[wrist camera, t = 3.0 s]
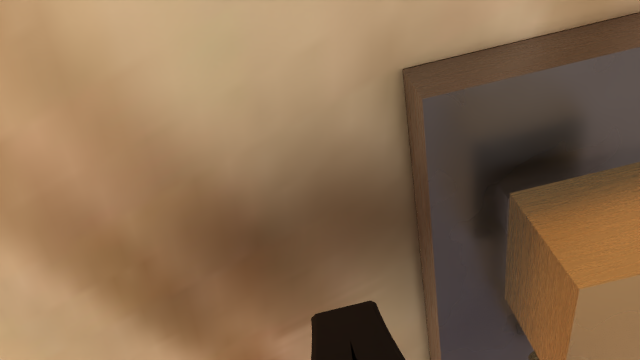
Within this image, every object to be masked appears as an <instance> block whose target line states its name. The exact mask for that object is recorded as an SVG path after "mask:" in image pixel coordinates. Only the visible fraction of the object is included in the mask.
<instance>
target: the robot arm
mask: <svg viewBox="0 0 640 360" xmlns="http://www.w3.org/2000/svg"><path fill="white" fill-rule="evenodd" d="M311 321H312V354H311V360H405V358H404V357H403V355H402V353H401V352H400V350H399V348H398V347H397V345H396V343H395V341H394V340H393V338H392V336H391V334H390V332H389V331H388V329H387V327H386V325H385V323H384V321H383V319H382V316H381V314H380V312H379V310H378V307H377V304H376V303H375V302H372V301H367V302H363V303H359V304H355V305H351V306H346V307H342V308H338V309H334V310H330V311H326V312H322V313H318V314H315V315H314V316H313V317H312V318H311Z"/></svg>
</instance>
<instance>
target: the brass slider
mask: <svg viewBox="0 0 640 360" xmlns="http://www.w3.org/2000/svg"><path fill="white" fill-rule="evenodd" d="M504 297H505V299H506V301H507V303H508V305H509V306H510V308H511V310H512V312H513V314H514V315H515V317H516V319H517V321H518V322H519V324H520V326H521V328H522V330H523V331H524V333H525V335H526V337H527V338H528V340H529V342H530V344H531V346H532V347H533V349H534V351H533V352H532V353H531V354H530V355H529V356H528V359H529V360H640V162H637V163H633V164H629V165H625V166H621V167H616V168H612V169H608V170H604V171H600V172H596V173H592V174H587V175H583V176H579V177H575V178H571V179H567V180H563V181H558V182H554V183H550V184H546V185H542V186H538V187H533V188H529V189H525V190H521V191H517V192H513V193H510V200H509V219H508V238H507V257H506V276H505V295H504Z"/></svg>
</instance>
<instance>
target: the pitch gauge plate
mask: <svg viewBox="0 0 640 360" xmlns="http://www.w3.org/2000/svg"><path fill="white" fill-rule="evenodd" d="M403 76H404V87H405V97H406V108H407V118H408V129H409V140H410V150H411V161H412V171H413V182H414V192H415V203H416V213H417V224H418V234H419V245H420V255H421V266H422V276H423V287H424V297H425V308H426V318H427V329H428V340H429V350H430V360H529V359H528V356H529V355H530V354H531V353H532V352H533V351H534V349H533V347H532V346H531V344H530V342H529V340H528V338H527V337H526V335H525V333H524V331H523V330H522V328H521V326H520V324H519V322H518V321H517V319H516V317H515V315H514V314H513V312H512V310H511V308H510V306H509V305H508V303H507V301H506V299H505V297H504V295H505V276H506V257H507V238H508V219H509V200H510V193H513V192H517V191H521V190H525V189H529V188H533V187H538V186H542V185H546V184H550V183H554V182H558V181H563V180H567V179H571V178H575V177H579V176H583V175H587V174H592V173H596V172H600V171H604V170H608V169H612V168H616V167H621V166H625V165H629V164H633V163H637V162H640V13H637V14H633V15H629V16H624V17H620V18H616V19H612V20H608V21H604V22H599V23H595V24H591V25H587V26H583V27H579V28H574V29H570V30H566V31H562V32H558V33H554V34H549V35H545V36H541V37H537V38H533V39H529V40H524V41H520V42H516V43H512V44H508V45H503V46H499V47H495V48H491V49H487V50H483V51H478V52H474V53H470V54H466V55H462V56H458V57H453V58H449V59H445V60H441V61H437V62H433V63H428V64H424V65H420V66H416V67H412V68H408V69H403Z"/></svg>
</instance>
